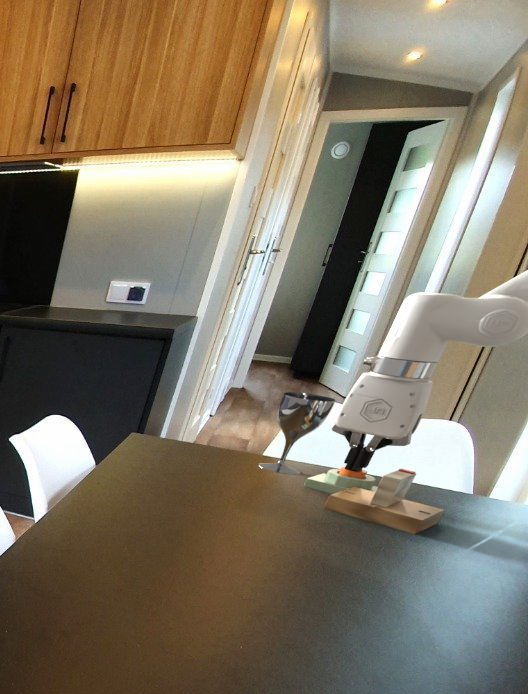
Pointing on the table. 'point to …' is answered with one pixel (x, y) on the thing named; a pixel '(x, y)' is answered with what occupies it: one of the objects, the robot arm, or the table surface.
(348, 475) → the button
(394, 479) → the holder
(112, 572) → the table surface
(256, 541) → the table surface
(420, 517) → the holder base
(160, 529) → the table surface
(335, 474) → the button box
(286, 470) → the wine glass
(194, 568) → the table surface
